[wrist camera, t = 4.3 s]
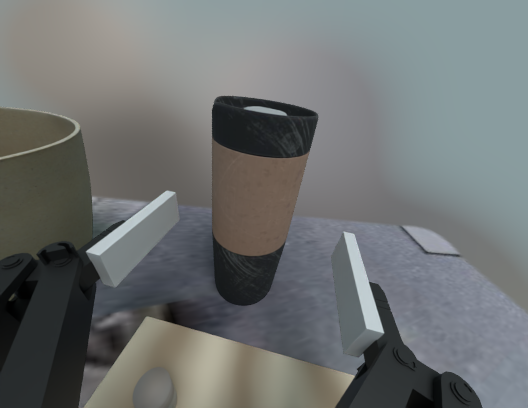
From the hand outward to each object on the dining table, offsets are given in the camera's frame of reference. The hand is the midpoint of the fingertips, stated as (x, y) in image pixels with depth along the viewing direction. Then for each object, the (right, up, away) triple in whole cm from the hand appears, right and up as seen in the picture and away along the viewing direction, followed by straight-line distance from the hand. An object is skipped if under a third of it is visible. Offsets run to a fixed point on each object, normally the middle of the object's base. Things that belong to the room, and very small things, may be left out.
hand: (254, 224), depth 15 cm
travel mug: (-2, -8, +10) cm, 13 cm away
